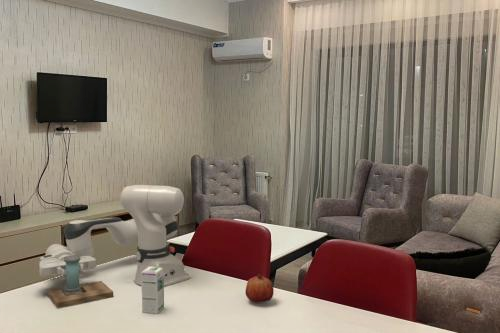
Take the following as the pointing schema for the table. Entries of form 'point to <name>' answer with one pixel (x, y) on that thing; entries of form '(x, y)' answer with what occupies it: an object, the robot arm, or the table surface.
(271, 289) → the fruit
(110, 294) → the notched board
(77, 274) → the bobbin
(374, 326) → the table surface
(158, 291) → the syrup box
